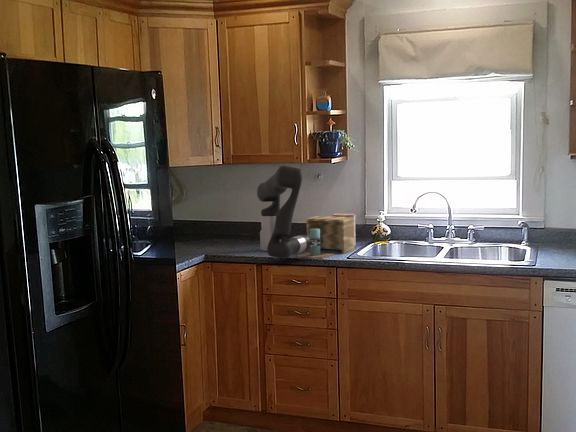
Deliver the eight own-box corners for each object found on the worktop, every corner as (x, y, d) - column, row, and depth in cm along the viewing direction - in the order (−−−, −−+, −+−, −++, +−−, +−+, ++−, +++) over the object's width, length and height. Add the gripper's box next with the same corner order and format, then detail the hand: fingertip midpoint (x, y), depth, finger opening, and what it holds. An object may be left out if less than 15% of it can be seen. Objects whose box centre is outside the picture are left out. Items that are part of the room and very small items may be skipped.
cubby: (307, 251, 343) (306, 218, 342) (318, 247, 353) (317, 215, 351) (344, 253, 333) (343, 220, 331) (354, 250, 343) (353, 217, 341)
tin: (308, 255, 329) (307, 229, 328) (313, 253, 333) (312, 228, 332) (317, 255, 326) (316, 230, 325) (322, 254, 330) (321, 228, 329)
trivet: (295, 256, 328) (295, 255, 328) (308, 252, 339) (308, 251, 338) (322, 258, 321) (322, 257, 321) (334, 254, 331) (334, 253, 331)
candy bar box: (332, 247, 354) (331, 214, 353) (334, 245, 359) (333, 213, 357) (354, 247, 351) (353, 214, 350) (356, 245, 356) (355, 213, 354)
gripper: (312, 236, 312) (330, 231, 327) (285, 235, 320) (303, 230, 334) (313, 253, 313) (330, 248, 328) (285, 251, 320) (304, 246, 335)
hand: (317, 239), depth 331 cm, fingers closed on tin, 4 cm apart
